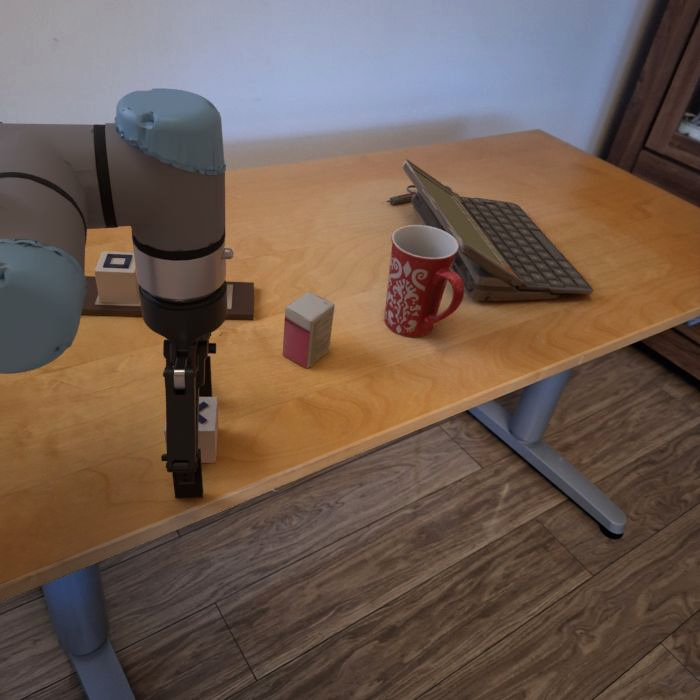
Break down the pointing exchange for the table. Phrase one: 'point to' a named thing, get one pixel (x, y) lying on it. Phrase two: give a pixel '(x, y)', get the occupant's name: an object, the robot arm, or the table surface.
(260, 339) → the table surface
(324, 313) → the small box
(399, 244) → the mug
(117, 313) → the word board
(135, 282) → the tile
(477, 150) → the table surface
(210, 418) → the tile
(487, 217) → the laptop
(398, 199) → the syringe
